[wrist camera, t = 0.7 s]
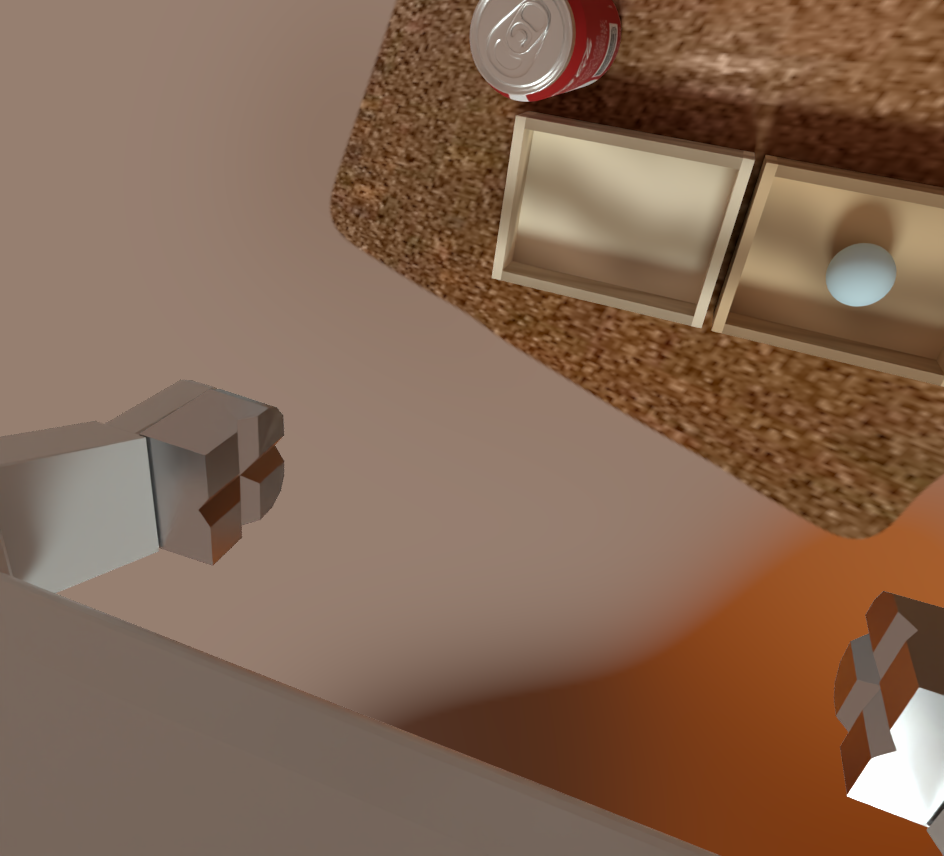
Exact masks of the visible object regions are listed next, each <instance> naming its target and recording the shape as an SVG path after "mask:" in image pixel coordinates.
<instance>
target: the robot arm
mask: <svg viewBox="0 0 944 856" xmlns="http://www.w3.org/2000/svg"><path fill="white" fill-rule="evenodd" d="M283 436H284V423H283V414H282V413H281V412H280V411H279V409H278V408H277V407H274V406H270V405H267V404H265V403H261V402H258V401H255V400H252V399H249V398H246V397H243V396H240V395H237V394H234V393H231V392H228V391H225V390H221V389H217V388H215V387H212V386H209V385H205V384H202V383H199V382H195V381H192V380H180V381H178V382H176V383H175V384H173V385H171V386H169V387H167V388H166V389H164V390H162V391H160V392H159V393H157V394H155V395H154V396H152V397H150V398H148V399H147V400H145V401H143V402H141V403H140V404H138V405H136V406H135V407H133V408H131V409H129V410H128V411H126V412H124V413H122V414H121V415H119V416H117V417H116V418H114V419H112V420H110V421H109V422H107V423H105V424H103V423H100V422H97V421H92V422H87V423H80V424H74V425H68V426H62V427H57V428H50V429H45V430H38V431H32V432H26V433H21V434H14V435H8V436H2V437H0V856H720V855H717V854H715V853H712V852H710V851H707V850H704V849H702V848H699V847H697V846H695V845H692V844H690V843H687V842H684V841H682V840H679V839H677V838H674V837H672V836H669V835H667V834H664V833H662V832H659V831H657V830H654V829H652V828H649V827H647V826H644V825H641V824H639V823H637V822H634V821H631V820H629V819H626V818H624V817H621V816H619V815H616V814H614V813H611V812H609V811H606V810H604V809H601V808H598V807H596V806H594V805H591V804H588V803H586V802H584V801H581V800H578V799H576V798H573V797H571V796H568V795H566V794H563V793H561V792H558V791H556V790H553V789H551V788H548V787H546V786H543V785H541V784H538V783H536V782H533V781H531V780H528V779H525V778H523V777H520V776H518V775H515V774H513V773H510V772H508V771H505V770H502V769H500V768H497V767H495V766H492V765H490V764H487V763H485V762H482V761H480V760H477V759H474V758H472V757H469V756H467V755H464V754H462V753H459V752H457V751H454V750H452V749H449V748H447V747H444V746H442V745H439V744H436V743H434V742H431V741H428V740H426V739H424V738H421V737H419V736H416V735H414V734H411V733H408V732H406V731H403V730H400V729H398V728H396V727H393V726H391V725H388V724H386V723H383V722H380V721H378V720H375V719H373V718H370V717H368V716H365V715H363V714H360V713H358V712H355V711H352V710H350V709H347V708H345V707H342V706H340V705H337V704H335V703H332V702H330V701H327V700H325V699H322V698H319V697H317V696H314V695H312V694H309V693H307V692H304V691H301V690H299V689H297V688H294V687H291V686H289V685H286V684H284V683H281V682H279V681H276V680H274V679H271V678H268V677H266V676H264V675H261V674H258V673H256V672H253V671H251V670H248V669H245V668H243V667H241V666H238V665H236V664H233V663H230V662H228V661H225V660H223V659H220V658H218V657H215V656H213V655H210V654H208V653H205V652H203V651H200V650H197V649H195V648H192V647H190V646H187V645H185V644H182V643H180V642H177V641H175V640H172V639H170V638H167V637H165V636H162V635H159V634H157V633H154V632H152V631H149V630H147V629H144V628H142V627H139V626H137V625H134V624H132V623H129V622H126V621H124V620H121V619H119V618H116V617H114V616H111V615H109V614H106V613H104V612H101V611H99V610H96V609H93V608H91V607H88V606H86V605H83V604H81V603H78V602H76V601H73V600H70V599H68V598H66V597H63V596H61V595H58V594H55V593H57V592H59V591H62V590H64V589H67V588H69V587H72V586H74V585H77V584H79V583H82V582H84V581H87V580H89V579H91V578H94V577H96V576H99V575H101V574H104V573H106V572H109V571H111V570H114V569H116V568H118V567H121V566H123V565H126V564H128V563H131V562H133V561H135V560H138V559H141V558H143V557H145V556H148V555H151V554H153V553H156V552H158V551H159V548H161V549H164V550H167V551H170V552H173V553H176V554H179V555H183V556H185V557H188V558H191V559H195V560H197V561H200V562H203V563H207V564H210V565H214V564H215V563H216V562H217V561H218V560H219V559H220V558H221V557H222V556H223V555H224V554H225V553H227V551H229V550H230V549H231V548H232V547H233V546H234V545H235V544H236V543H237V542H238V541H239V540H240V539H241V538H242V525H245V524H248V523H251V522H254V521H258V520H260V519H261V518H263V516H264V515H265V514H266V513H267V512H268V511H269V510H270V509H271V508H272V506H273V505H274V503H275V501H276V499H277V497H278V495H279V493H280V491H281V487H282V482H283V478H284V460H283V458H282V457H281V455H280V453H279V451H278V450H277V448H276V446H275V445H276V444H277V442H278V441H279V440H280V439H281V438H282V437H283ZM866 620H867V625H868V630H869V634H867V635H864V636H862V637H860V638H857V639H855V640H853V641H851V642H850V644H849V645H848V647H847V649H846V651H845V653H844V655H843V657H842V659H841V661H840V664H839V668H838V672H837V676H836V680H835V688H834V689H835V690H834V703H835V712H836V717H837V718H838V719H839V721H840V722H841V723H842V724H843V726H844V727H845V728H846V729H847V731H848V732H849V733H848V734H847V736H846V738H845V739H844V741H843V743H842V745H841V746H840V750H841V757H842V764H843V770H844V777H845V784H846V791H847V796H849V797H852V798H854V799H857V800H860V801H862V802H865V803H867V804H870V805H872V806H875V807H878V808H880V809H883V810H885V811H888V812H890V813H893V814H896V815H898V816H901V817H903V818H906V819H908V820H911V821H914V822H916V823H919V824H921V825H924V826H926V827H929V828H928V829H927V832H928V833H929V834H930V836H931V838H932V839H933V841H934V842H935V844H936V845H937V847H938V848H939V850H940V851H941V852H942V854H943V855H944V608H942V607H938V606H935V605H931V604H928V603H924V602H921V601H917V600H913V599H910V598H906V597H903V596H899V595H896V594H892V593H889V592H885V591H883V592H882V593H881V594H880V595H879V596H878V597H877V598H876V599H875V600H874V601H873V603H872V605H871V606H870V608H869V610H868V612H867V614H866Z"/></svg>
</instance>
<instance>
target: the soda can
mask: <svg viewBox="0 0 944 856" xmlns="http://www.w3.org/2000/svg"><path fill="white" fill-rule="evenodd" d="M620 41H621V22H620V17H619V14H618V11H617V9H616V6H615V4H614V3H613V1H612V0H480V1H479V3H478V5H477V7H476V9H475V11H474V14H473V17H472V21H471V27H470V47H471V52H472V56H473V59H474V62H475V64H476V66H477V68H478V70H479V72H480V73H481V75H482V76H483V77H484V79H485V80H486V81H487V82H488V83H489V85H490V86H491V87H492V88H494V89H495V90H496V91H497V92H499V93H500V94H502V95H503V96H505V97H508V98H510V99H513V100H517V101H524V102H532V101H538V100H542V99H545V98H549V97H552V96H555V95H559V94H562V93H565V92H569V91H572V90H575V89H578V88H582V87H585V86H588V85H590V84H592V83H594V82H595V81H597V80H598V79H599V78H601V77H602V76H603V75H604V74H605V73H606V72H607V71H608V69H609V68H610V67H611V65H612V63H613V62H614V60H615V58H616V55H617V53H618V50H619V46H620Z"/></svg>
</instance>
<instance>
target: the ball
mask: <svg viewBox="0 0 944 856" xmlns="http://www.w3.org/2000/svg"><path fill="white" fill-rule="evenodd" d="M895 279H896V265H895V261H894V259H893V257H892V256H891V255H890V253H889V252H888V251H886V250H885V249H884V248H882V247H880V246H878V245H875V244H871V243H858V244H854V245H851V246H848V247H846V248H844V249H843V250H841V251H840V252H838V253H837V254H836V255H835V256H834V257H833V259H832V260H831V262H830V263H829V265H828V268H827V271H826V285H827V288H828V290H829V292H830V293H831V295H832V296H833V297H834V298H835V299H836V300H838V301H839V302H841V303H843V304H845V305H849V306H857V307H858V306H867V305H870V304H873V303H875V302H877V301H879V300H880V299H882V298H883V297H884V296H885V295H886V294H887V293H888V292H889V291H890V290H891V288H892V286H893V285H894V282H895Z"/></svg>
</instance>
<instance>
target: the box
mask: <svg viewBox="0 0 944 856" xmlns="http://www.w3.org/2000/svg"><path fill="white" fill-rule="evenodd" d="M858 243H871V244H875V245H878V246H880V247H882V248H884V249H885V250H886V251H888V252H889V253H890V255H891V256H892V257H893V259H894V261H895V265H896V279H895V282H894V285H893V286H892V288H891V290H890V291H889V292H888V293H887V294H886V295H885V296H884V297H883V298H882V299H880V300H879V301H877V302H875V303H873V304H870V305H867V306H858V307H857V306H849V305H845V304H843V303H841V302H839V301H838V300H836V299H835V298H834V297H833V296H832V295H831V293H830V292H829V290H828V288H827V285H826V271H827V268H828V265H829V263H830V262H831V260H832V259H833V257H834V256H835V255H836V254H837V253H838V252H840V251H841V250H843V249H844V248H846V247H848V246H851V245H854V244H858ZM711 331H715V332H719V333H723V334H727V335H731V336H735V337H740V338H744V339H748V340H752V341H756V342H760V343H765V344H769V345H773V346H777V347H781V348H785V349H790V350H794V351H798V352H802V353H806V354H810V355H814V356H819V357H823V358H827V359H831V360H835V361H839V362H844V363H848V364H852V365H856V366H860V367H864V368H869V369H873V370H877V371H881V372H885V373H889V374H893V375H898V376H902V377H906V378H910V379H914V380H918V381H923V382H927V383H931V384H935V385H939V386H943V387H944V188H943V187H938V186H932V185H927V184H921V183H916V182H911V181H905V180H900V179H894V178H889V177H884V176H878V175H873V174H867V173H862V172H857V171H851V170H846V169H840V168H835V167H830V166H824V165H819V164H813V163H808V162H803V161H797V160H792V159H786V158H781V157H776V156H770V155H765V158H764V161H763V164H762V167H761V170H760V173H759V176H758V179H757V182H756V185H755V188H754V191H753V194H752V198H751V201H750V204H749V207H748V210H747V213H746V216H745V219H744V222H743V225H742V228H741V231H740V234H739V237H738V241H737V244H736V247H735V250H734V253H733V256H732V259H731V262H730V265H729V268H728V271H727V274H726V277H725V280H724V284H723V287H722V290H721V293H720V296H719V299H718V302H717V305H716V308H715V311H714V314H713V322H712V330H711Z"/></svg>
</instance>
